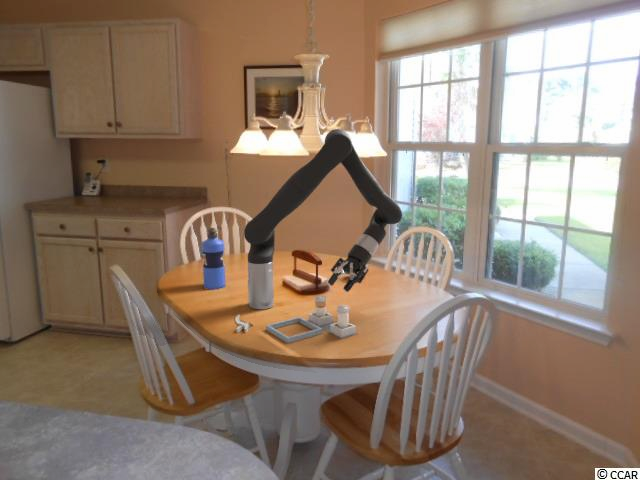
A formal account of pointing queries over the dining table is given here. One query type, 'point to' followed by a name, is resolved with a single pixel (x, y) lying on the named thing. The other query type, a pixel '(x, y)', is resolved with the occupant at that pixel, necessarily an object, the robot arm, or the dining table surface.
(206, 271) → the water bottle
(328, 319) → the fuse holder
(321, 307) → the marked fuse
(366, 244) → the robot arm
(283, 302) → the dining table surface
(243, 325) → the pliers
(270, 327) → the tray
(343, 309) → the fuse
